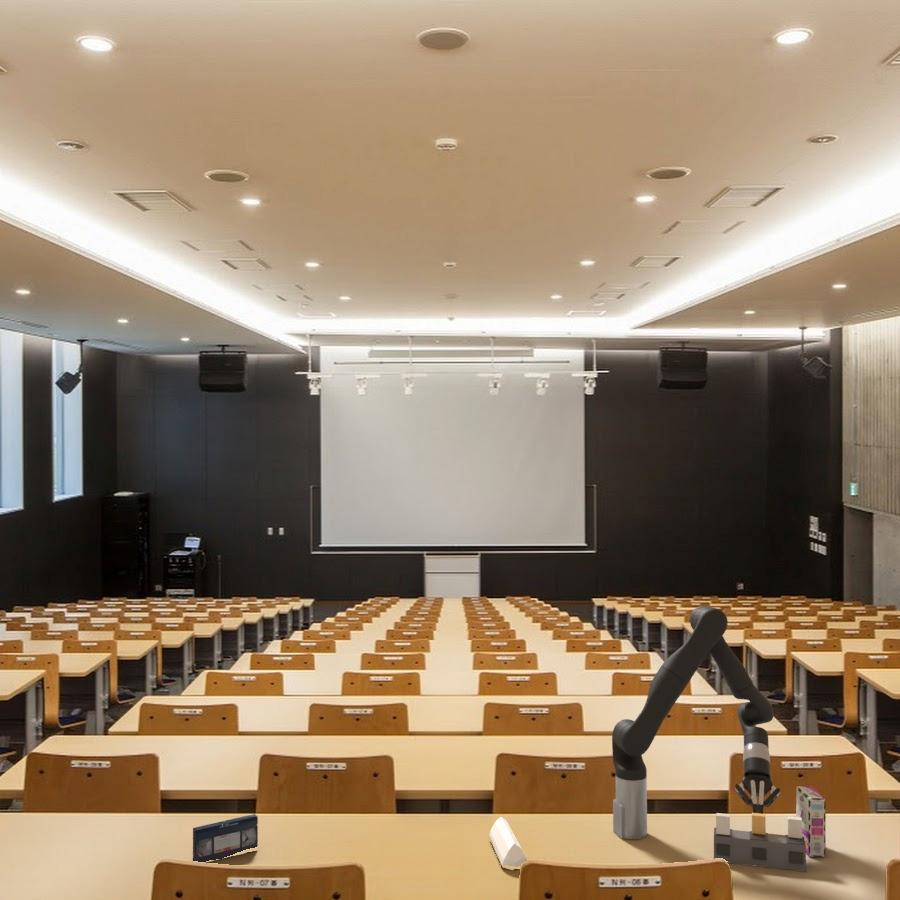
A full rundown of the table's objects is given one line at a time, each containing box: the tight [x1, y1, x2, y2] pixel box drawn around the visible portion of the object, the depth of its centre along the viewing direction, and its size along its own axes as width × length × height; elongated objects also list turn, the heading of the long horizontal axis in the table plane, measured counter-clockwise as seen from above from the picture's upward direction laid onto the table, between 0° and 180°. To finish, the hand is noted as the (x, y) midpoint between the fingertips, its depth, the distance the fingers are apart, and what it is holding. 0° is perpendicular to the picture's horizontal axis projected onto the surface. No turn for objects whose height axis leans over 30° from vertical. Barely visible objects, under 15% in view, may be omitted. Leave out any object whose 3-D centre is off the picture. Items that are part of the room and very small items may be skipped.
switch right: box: [787, 816, 802, 838], centre depth 260 cm, size 4×2×5 cm, turn 73°
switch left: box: [715, 812, 731, 835], centre depth 262 cm, size 4×2×5 cm, turn 73°
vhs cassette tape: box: [192, 813, 259, 862], centre depth 266 cm, size 18×3×10 cm, turn 122°
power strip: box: [713, 827, 807, 872], centre depth 261 cm, size 24×6×7 cm, turn 73°
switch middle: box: [751, 812, 767, 835], centre depth 262 cm, size 4×2×5 cm, turn 73°
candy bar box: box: [795, 785, 827, 858], centre depth 269 cm, size 11×5×16 cm, turn 178°
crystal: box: [488, 816, 528, 867], centre depth 267 cm, size 7×7×24 cm
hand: (758, 819), depth 265 cm, fingers closed
